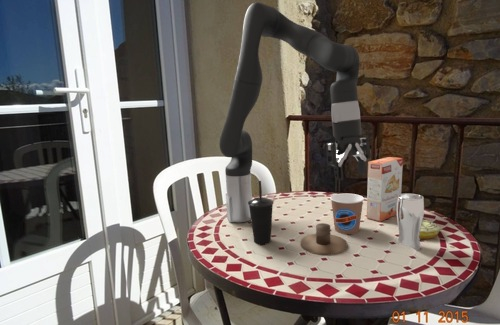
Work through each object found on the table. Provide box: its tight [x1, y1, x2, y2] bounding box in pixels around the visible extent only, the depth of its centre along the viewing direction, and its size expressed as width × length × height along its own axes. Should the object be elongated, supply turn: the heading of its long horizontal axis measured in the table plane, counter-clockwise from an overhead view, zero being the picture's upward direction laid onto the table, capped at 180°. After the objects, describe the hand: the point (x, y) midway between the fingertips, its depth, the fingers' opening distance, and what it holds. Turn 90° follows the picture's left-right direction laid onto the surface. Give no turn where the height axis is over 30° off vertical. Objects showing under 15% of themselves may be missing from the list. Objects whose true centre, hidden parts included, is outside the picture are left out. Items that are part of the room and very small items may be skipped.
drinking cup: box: [248, 180, 275, 245], centre depth 101 cm, size 8×8×20 cm
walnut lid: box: [300, 223, 347, 256], centre depth 97 cm, size 13×13×6 cm
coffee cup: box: [329, 192, 365, 235], centre depth 108 cm, size 10×10×12 cm
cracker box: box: [366, 156, 404, 222], centre depth 121 cm, size 14×6×21 cm, turn 129°
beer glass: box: [396, 192, 425, 251], centre depth 96 cm, size 7×7×15 cm
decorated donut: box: [419, 219, 441, 240], centre depth 106 cm, size 10×11×4 cm
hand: (350, 177), depth 94 cm, fingers open, 8 cm apart
